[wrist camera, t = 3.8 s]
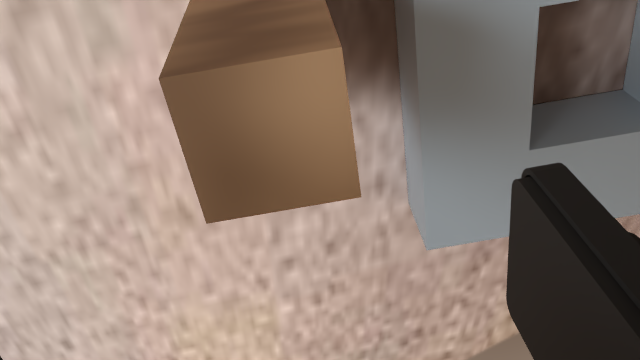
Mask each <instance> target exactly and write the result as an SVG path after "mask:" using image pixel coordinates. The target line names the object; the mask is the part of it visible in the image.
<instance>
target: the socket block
mask: <svg viewBox="0 0 640 360" xmlns="http://www.w3.org/2000/svg"><path fill="white" fill-rule="evenodd" d="M572 1H577V0H394V4H395V18H396V32H397V46H398V59H399V73H400V87H401V101H402V115H403V129H404V143H405V157H406V171H407V185H408V199H409V205H410V208H411V210H412V213H413V216H414V218H415V221H416V223H417V226H418V229H419V231H420V234H421V236H422V239H423V242H424V244H425V247H426V250H431V249H437V248H443V247H449V246H455V245H461V244H467V243H473V242H478V241H484V240H490V239H496V238H502V237H508V236H509V230H510V210H511V189H512V183H513V180H515V179H519V178H521V176H522V173H523V170H525V169H526V168H531V167H536V166H542V165H547V164H553V163H562V164H564V165H565V166H566V167H567V168H568V169H569V170H570V171H571V172H572V173H573V174H574V175H575V176H576V178H577V179H578V180H579V181H580V182H581V183H582V184H583V185H584V186H585V187H586V188H587V189H588V190H589V191H590V192H591V193H592V195H593V196H594V197H595V198H596V199H597V200H598V201H599V202H600V203H601V204H602V205H603V206H604V207H605V208H606V209H607V211H608V212H609V213H610V214H611V215H612V216H613V217H614V218H619V217H625V216H631V215H637V214H640V0H638V3H637V9H636V15H635V20H634V26H633V32H632V38H631V44H630V50H629V56H628V62H627V68H626V74H625V80H624V86H623V90H617V91H611V92H606V93H600V94H594V95H588V96H582V97H577V98H571V99H565V100H559V101H553V102H547V103H542V104H536V105H533V91H534V77H535V63H536V49H537V35H538V21H539V7H543V6H548V5H554V4H560V3H566V2H572Z"/></svg>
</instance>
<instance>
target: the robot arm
mask: <svg viewBox="0 0 640 360" xmlns="http://www.w3.org/2000/svg"><path fill="white" fill-rule="evenodd" d="M506 297H507V305H508V309H509V312H510V315H511V317H512V319H513V321H514V323H515V325H516V327H517V329H518V330H519V332H520V334H521V336H522V338H523V340H524V342H525V344H526V345H527V347H528V349H529V351H530V353H531V355H532V357H533V359H534V360H640V238H639V237H637V236H636V235H635V234H633V233H629V232H627V231H626V230H625V229H624V228H623V227H622V225H621V224H620V223H619V222H618V221H617V220H616V219H615V218H614V217H613V216H612V215H611V214H610V213H609V212H608V211H607V209H606V208H605V207H604V206H603V205H602V204H601V203H600V202H599V201H598V200H597V199H596V198H595V197H594V196H593V195H592V193H591V192H590V191H589V190H588V189H587V188H586V187H585V186H584V185H583V184H582V183H581V182H580V181H579V180H578V179H577V178H576V176H575V175H574V174H573V173H572V172H571V171H570V170H569V169H568V168H567V167H566V166H565V165H564V164H562V163H553V164H547V165H542V166H536V167H531V168H526V169H525V170H523V173H522V176H521V178H519V179H515V180H513V183H512V189H511V210H510V230H509V251H508V272H507V293H506ZM0 360H3V359H2V358H1V357H0Z"/></svg>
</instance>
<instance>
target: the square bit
mask: <svg viewBox="0 0 640 360" xmlns="http://www.w3.org/2000/svg"><path fill="white" fill-rule="evenodd" d="M159 81H160V84H161V87H162V90H163V93H164V96H165V99H166V102H167V105H168V108H169V111H170V114H171V117H172V120H173V123H174V126H175V129H176V132H177V136H178V139H179V142H180V145H181V148H182V151H183V154H184V157H185V160H186V163H187V166H188V169H189V172H190V175H191V178H192V181H193V184H194V187H195V190H196V193H197V196H198V199H199V202H200V205H201V208H202V211H203V215H204V218H205V221H206V224H207V223H213V222H219V221H225V220H231V219H236V218H242V217H248V216H254V215H260V214H266V213H271V212H277V211H283V210H289V209H295V208H301V207H306V206H312V205H318V204H324V203H330V202H335V201H341V200H347V199H353V198H359V197H361V191H360V183H359V176H358V168H357V160H356V153H355V145H354V137H353V129H352V122H351V114H350V106H349V98H348V91H347V83H346V75H345V67H344V60H343V52H342V46H341V43H340V40H339V37H338V35H337V32H336V29H335V26H334V23H333V21H332V18H331V15H330V12H329V9H328V7H327V4H326V1H325V0H190V2H189V4H188V7H187V9H186V12H185V14H184V17H183V19H182V22H181V24H180V27H179V29H178V32H177V34H176V37H175V39H174V42H173V44H172V47H171V49H170V52H169V54H168V57H167V59H166V62H165V64H164V67H163V69H162V72H161V74H160V77H159Z"/></svg>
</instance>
